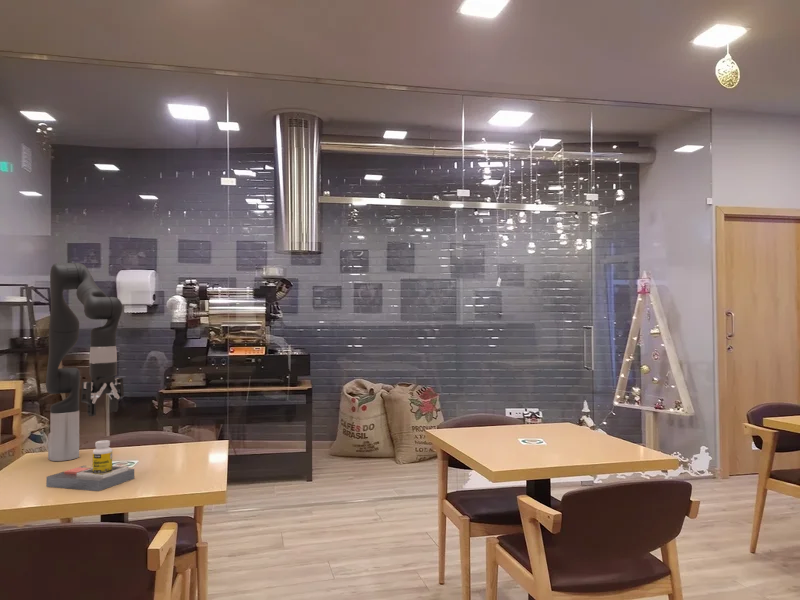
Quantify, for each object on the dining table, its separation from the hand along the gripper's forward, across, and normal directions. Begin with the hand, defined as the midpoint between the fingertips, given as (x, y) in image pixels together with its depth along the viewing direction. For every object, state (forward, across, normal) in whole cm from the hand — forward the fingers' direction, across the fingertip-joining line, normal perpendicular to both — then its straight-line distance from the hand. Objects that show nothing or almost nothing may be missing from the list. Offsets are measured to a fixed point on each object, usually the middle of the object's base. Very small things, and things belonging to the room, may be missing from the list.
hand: (103, 413), depth 176 cm
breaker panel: (+21, 0, -4) cm, 22 cm away
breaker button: (+21, 0, -10) cm, 23 cm away
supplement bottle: (+18, 0, 0) cm, 19 cm away
